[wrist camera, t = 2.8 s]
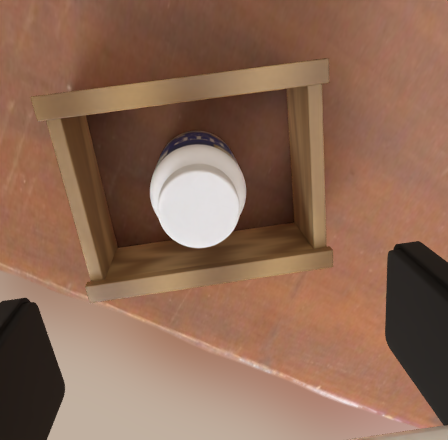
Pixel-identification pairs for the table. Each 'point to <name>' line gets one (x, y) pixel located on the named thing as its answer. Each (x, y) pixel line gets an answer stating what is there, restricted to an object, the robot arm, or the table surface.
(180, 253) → the wooden box
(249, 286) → the table surface
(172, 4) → the table surface
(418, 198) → the table surface
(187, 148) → the pill bottle
